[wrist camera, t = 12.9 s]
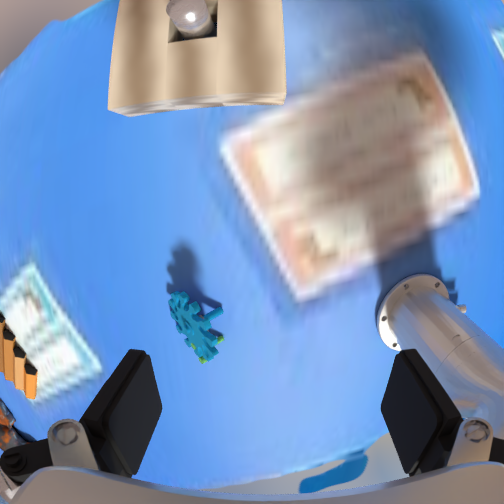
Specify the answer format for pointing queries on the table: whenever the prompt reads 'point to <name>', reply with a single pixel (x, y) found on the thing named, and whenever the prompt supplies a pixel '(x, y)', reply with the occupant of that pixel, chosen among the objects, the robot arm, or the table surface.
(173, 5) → the steel peg
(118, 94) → the hole block
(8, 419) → the orange lumpy piece
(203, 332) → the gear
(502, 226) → the table surface
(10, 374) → the pan flute
